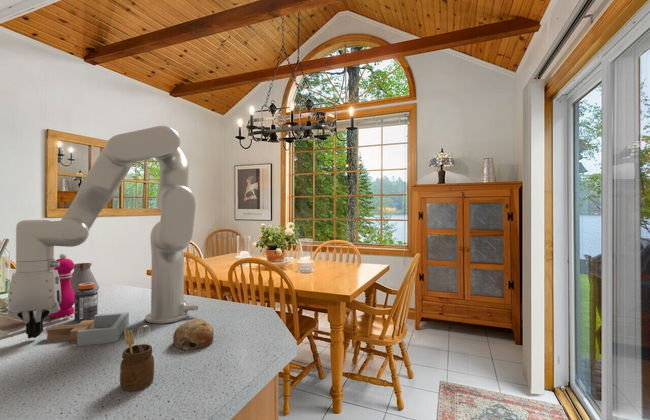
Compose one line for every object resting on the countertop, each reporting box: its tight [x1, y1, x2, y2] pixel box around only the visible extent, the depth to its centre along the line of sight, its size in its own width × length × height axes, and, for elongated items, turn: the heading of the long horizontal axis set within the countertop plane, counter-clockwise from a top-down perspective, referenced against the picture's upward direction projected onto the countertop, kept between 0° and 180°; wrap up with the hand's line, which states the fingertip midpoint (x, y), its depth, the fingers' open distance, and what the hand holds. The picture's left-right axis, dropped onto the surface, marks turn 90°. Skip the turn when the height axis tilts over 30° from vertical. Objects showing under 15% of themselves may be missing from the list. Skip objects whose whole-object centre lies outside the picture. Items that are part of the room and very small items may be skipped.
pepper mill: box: [49, 253, 75, 318], centre depth 109 cm, size 7×7×20 cm
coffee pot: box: [70, 262, 100, 293], centre depth 128 cm, size 21×12×15 cm, turn 35°
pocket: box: [76, 311, 130, 347], centre depth 92 cm, size 8×15×4 cm, turn 20°
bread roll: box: [172, 318, 214, 351], centre depth 87 cm, size 10×10×8 cm
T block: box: [46, 320, 96, 344], centre depth 90 cm, size 9×9×3 cm
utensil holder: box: [119, 325, 155, 392], centre depth 66 cm, size 6×6×12 cm
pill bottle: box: [73, 283, 99, 323], centre depth 104 cm, size 6×6×11 cm
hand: (34, 336), depth 87 cm, fingers closed
